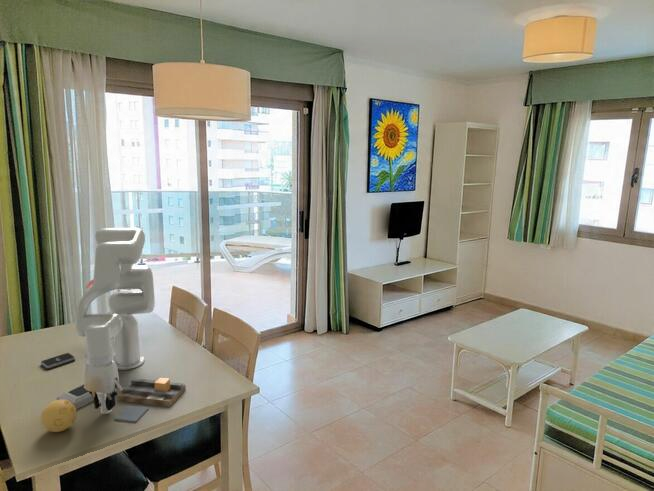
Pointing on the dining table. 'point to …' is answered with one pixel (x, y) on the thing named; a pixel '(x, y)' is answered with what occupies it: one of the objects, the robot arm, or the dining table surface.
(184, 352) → the dining table surface
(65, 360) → the external hard drive
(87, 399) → the grey electronic device
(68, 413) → the stress ball
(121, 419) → the mat
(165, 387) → the switch tab
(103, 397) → the milkshake
